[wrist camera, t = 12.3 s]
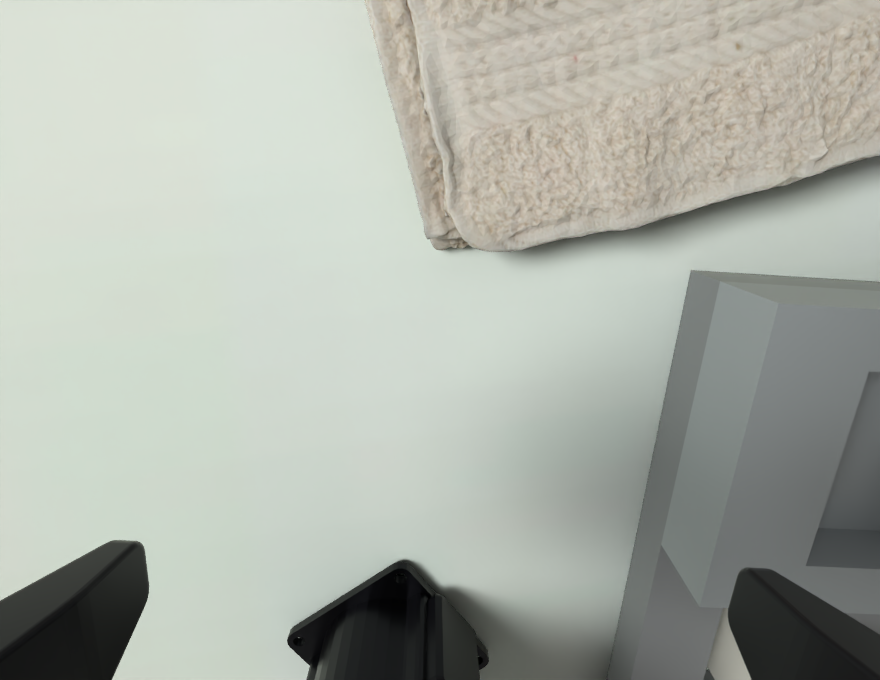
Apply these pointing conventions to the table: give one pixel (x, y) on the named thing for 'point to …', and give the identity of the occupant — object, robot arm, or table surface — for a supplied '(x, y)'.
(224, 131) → the table surface
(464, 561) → the table surface
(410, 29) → the washcloth
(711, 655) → the plug
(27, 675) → the robot arm
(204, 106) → the table surface
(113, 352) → the table surface
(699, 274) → the socket panel
